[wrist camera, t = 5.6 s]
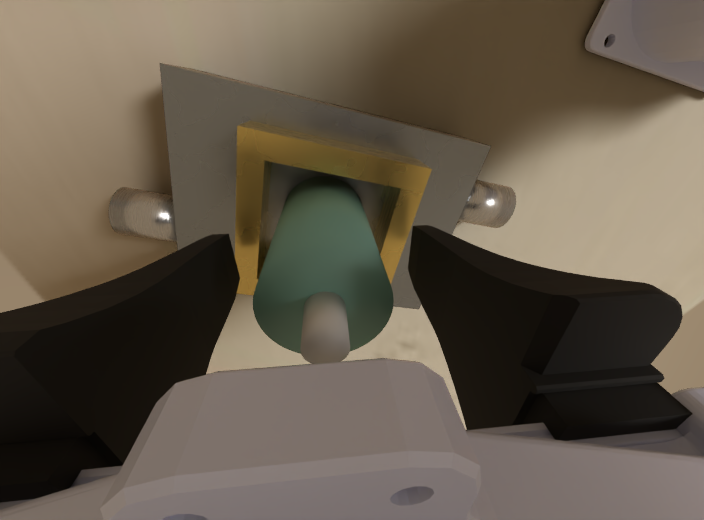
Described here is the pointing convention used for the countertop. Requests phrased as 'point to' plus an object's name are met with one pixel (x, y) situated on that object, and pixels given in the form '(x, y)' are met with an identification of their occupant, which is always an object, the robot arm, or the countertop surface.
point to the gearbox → (301, 173)
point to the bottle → (323, 275)
